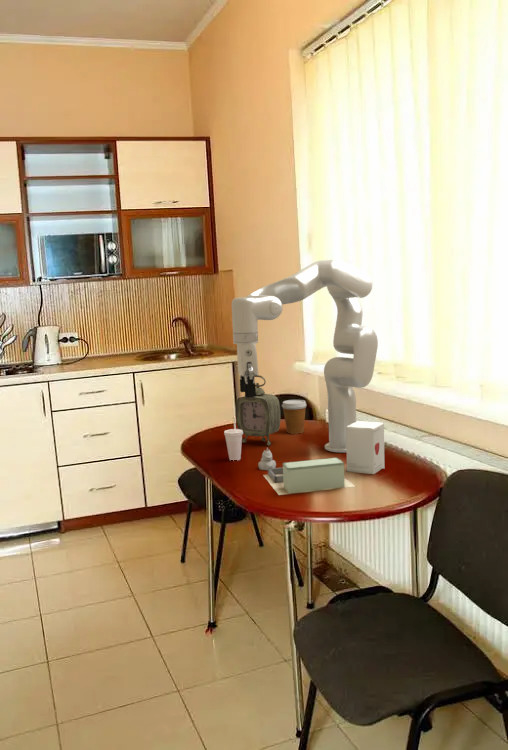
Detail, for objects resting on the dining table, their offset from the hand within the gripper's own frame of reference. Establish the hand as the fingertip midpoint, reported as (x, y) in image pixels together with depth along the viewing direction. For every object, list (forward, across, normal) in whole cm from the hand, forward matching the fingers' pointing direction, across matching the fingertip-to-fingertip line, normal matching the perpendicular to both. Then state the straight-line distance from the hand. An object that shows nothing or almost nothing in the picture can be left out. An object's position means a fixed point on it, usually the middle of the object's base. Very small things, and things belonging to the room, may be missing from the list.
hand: (247, 394), depth 215 cm
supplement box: (+25, -11, -34) cm, 43 cm away
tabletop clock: (+25, +38, -10) cm, 46 cm away
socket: (+24, -12, -9) cm, 28 cm away
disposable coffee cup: (+25, +49, -25) cm, 60 cm away
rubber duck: (+25, 0, -5) cm, 26 cm away
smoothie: (+25, +18, +3) cm, 31 cm away
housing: (+24, -23, -14) cm, 36 cm away
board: (+25, -17, -14) cm, 33 cm away
